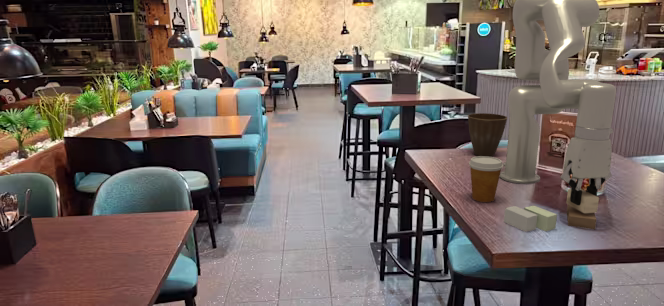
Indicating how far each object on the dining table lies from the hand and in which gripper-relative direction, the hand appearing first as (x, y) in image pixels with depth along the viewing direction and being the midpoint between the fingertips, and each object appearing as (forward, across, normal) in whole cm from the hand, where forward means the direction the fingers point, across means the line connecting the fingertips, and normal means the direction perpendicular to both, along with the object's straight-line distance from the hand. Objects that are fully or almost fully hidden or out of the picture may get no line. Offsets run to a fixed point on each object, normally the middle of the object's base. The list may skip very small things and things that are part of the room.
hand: (582, 202), depth 115 cm
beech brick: (+2, 0, 0) cm, 2 cm away
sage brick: (+5, +12, +1) cm, 13 cm away
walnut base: (+6, 0, 0) cm, 6 cm away
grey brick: (+5, +17, 0) cm, 18 cm away
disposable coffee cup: (+5, +17, -20) cm, 27 cm away
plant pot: (+6, -7, -68) cm, 68 cm away
